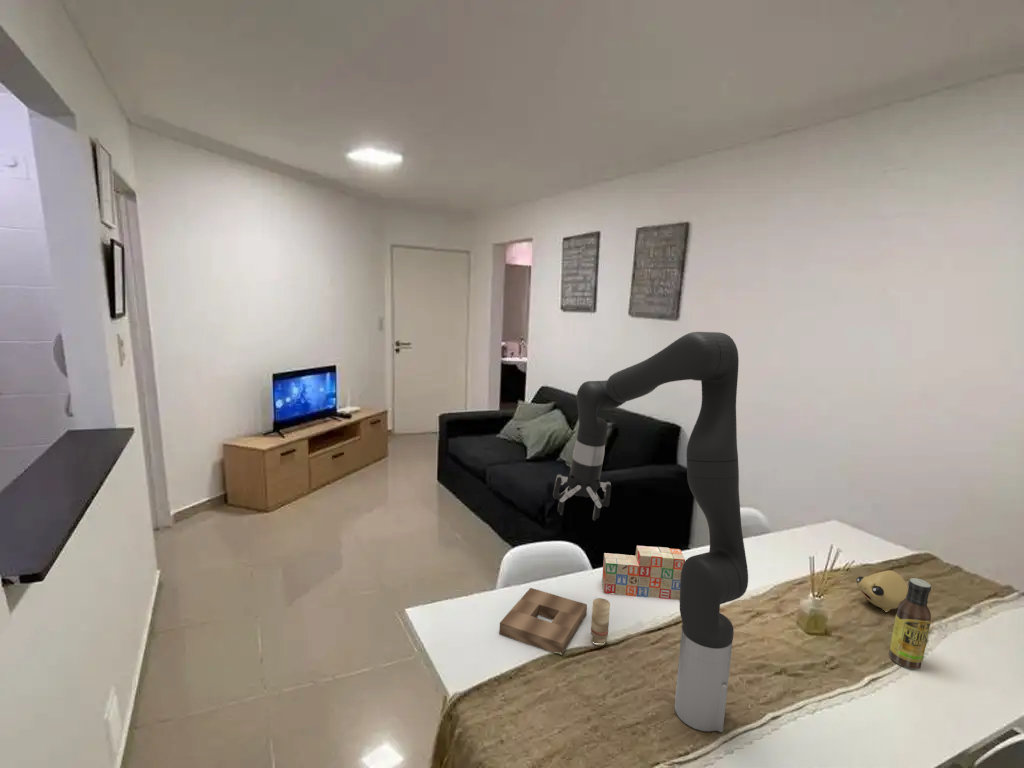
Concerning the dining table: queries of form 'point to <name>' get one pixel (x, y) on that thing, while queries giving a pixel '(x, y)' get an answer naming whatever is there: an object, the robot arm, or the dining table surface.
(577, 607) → the board
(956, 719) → the dining table surface
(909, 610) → the sauce bottle
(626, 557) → the stack of blocks
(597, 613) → the peg
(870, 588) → the tan toy head
